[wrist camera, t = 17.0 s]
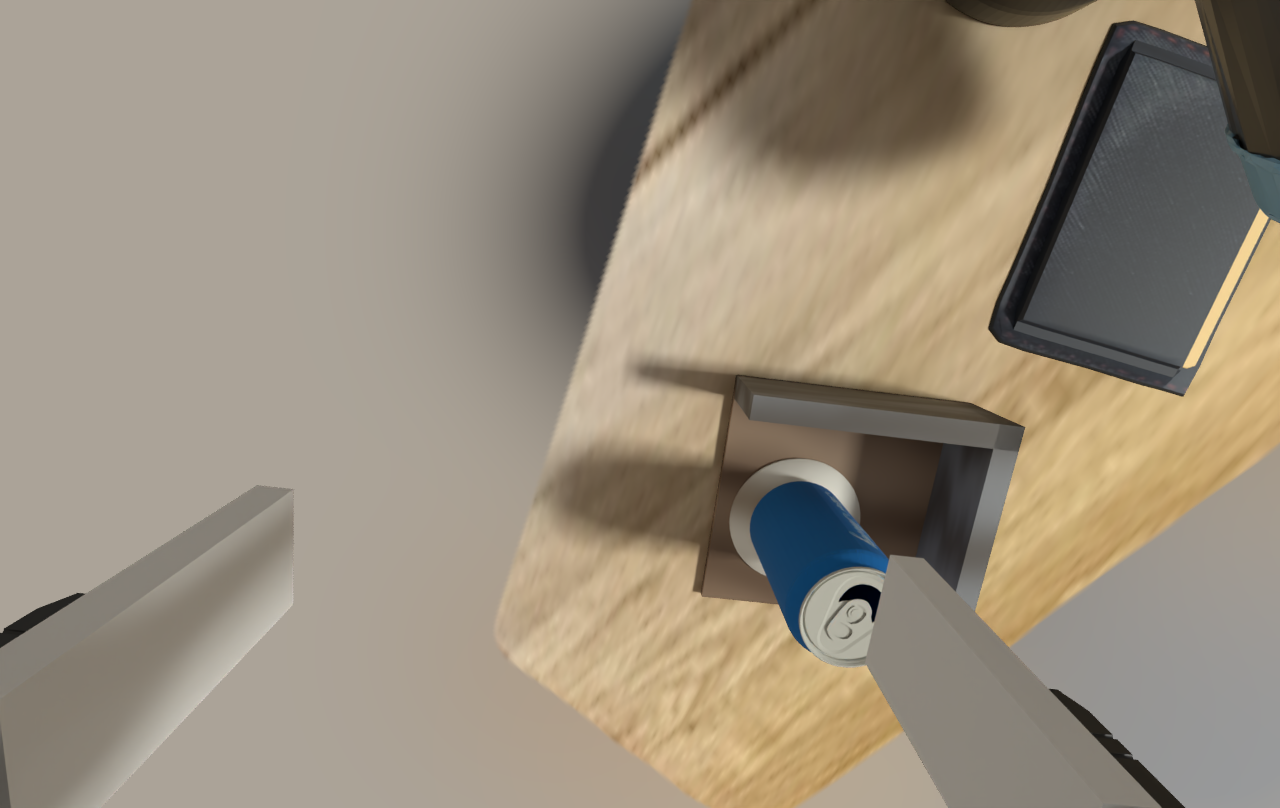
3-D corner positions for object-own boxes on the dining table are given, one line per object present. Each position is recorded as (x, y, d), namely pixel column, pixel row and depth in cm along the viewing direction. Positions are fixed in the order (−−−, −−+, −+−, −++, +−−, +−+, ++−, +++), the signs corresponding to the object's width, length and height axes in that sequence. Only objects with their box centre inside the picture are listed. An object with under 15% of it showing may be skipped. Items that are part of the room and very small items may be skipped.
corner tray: (736, 374, 42) (753, 394, 37) (971, 403, 43) (1025, 427, 37) (701, 592, 46) (711, 642, 40) (917, 615, 47) (959, 667, 41)
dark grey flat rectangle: (1135, 3, 36) (1363, 93, 38) (1111, 15, 38) (1329, 100, 40) (986, 337, 41) (1195, 407, 42) (970, 333, 43) (1171, 400, 44)
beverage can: (860, 508, 44) (944, 602, 32) (803, 580, 45) (864, 695, 34) (785, 459, 43) (844, 537, 31) (728, 533, 44) (765, 635, 33)
